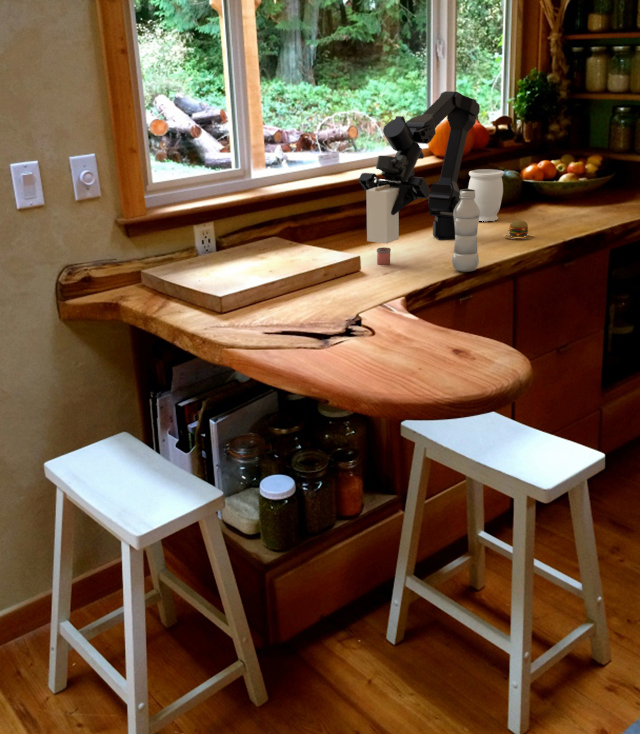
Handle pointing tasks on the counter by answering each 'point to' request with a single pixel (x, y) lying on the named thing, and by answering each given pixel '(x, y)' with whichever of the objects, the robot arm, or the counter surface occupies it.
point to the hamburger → (518, 228)
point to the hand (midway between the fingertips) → (381, 213)
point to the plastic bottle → (466, 232)
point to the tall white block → (382, 214)
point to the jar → (487, 192)
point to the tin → (383, 256)
